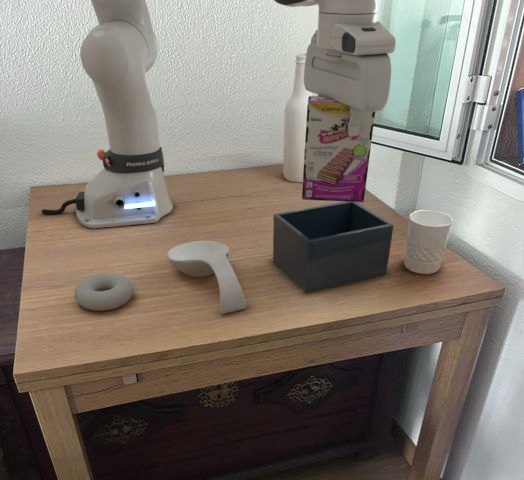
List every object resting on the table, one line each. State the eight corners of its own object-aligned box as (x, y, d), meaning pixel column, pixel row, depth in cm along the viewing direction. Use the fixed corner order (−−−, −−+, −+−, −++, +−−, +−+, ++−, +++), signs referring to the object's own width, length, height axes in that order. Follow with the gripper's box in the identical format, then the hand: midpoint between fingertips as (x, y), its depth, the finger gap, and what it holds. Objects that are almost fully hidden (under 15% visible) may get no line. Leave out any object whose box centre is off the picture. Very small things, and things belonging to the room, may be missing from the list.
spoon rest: (160, 263, 107) (156, 229, 103) (216, 251, 111) (214, 218, 107) (203, 321, 90) (200, 283, 86) (266, 305, 94) (267, 268, 90)
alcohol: (278, 174, 151) (280, 53, 134) (306, 171, 154) (312, 51, 136) (291, 184, 145) (295, 58, 127) (320, 180, 147) (328, 56, 130)
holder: (305, 293, 98) (308, 242, 92) (272, 262, 108) (273, 214, 102) (386, 274, 104) (393, 224, 98) (348, 246, 114) (353, 200, 108)
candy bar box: (301, 201, 96) (306, 101, 86) (302, 191, 100) (307, 95, 90) (365, 203, 95) (377, 103, 86) (363, 193, 99) (374, 96, 90)
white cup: (393, 261, 108) (400, 213, 102) (425, 254, 110) (434, 207, 105) (417, 279, 102) (426, 229, 96) (451, 271, 105) (462, 222, 99)
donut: (137, 285, 100) (81, 286, 99) (134, 268, 98) (78, 269, 97) (131, 314, 92) (70, 315, 91) (128, 296, 90) (67, 298, 89)
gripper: (296, 28, 89) (293, 118, 97) (365, 43, 74) (355, 147, 82) (329, 27, 91) (323, 114, 99) (403, 40, 76) (390, 142, 84)
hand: (338, 129), depth 91 cm, fingers closed on candy bar box, 6 cm apart
